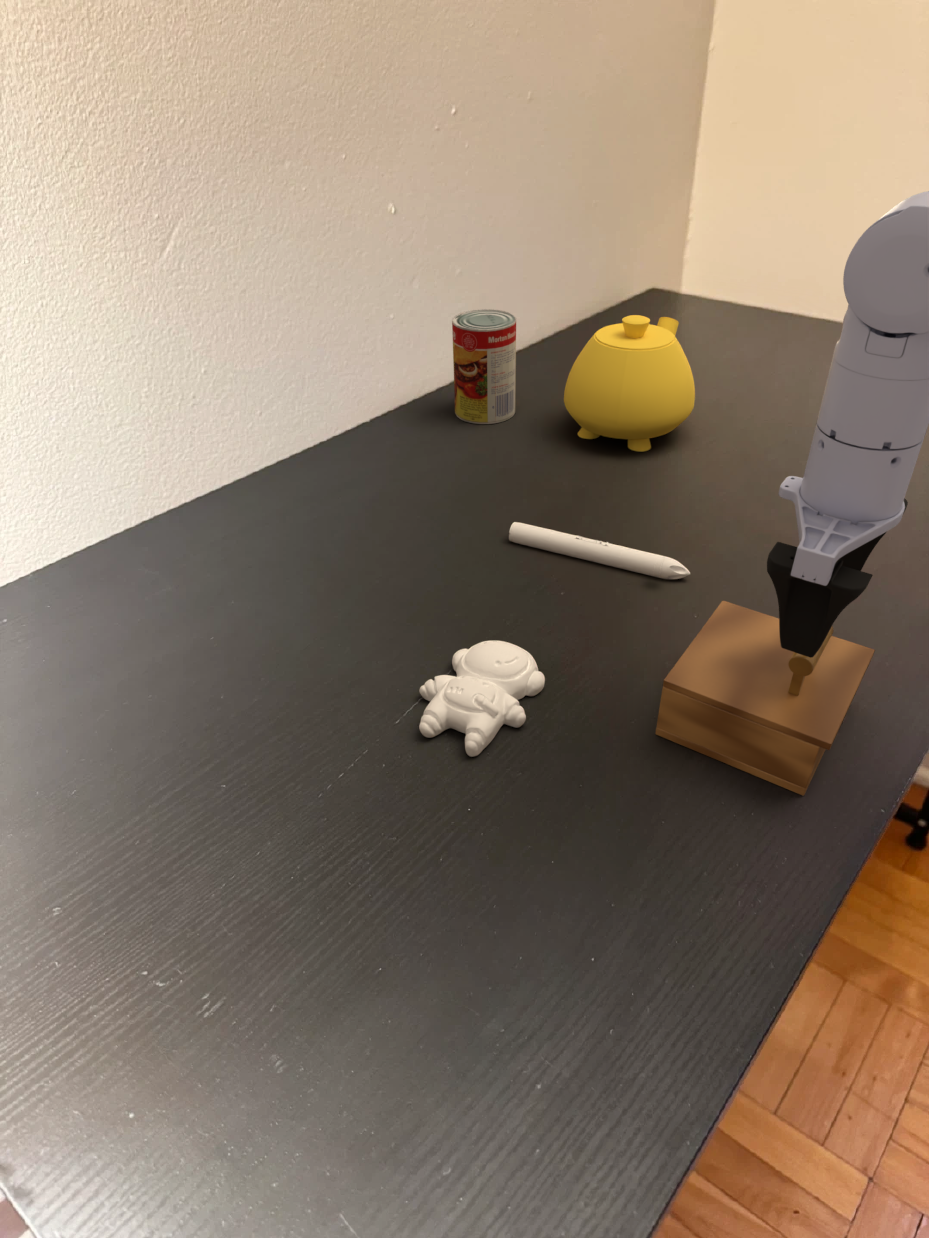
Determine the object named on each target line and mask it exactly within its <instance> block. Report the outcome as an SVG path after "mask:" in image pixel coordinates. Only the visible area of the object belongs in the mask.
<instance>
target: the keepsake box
mask: <svg viewBox="0 0 929 1238" xmlns="http://www.w3.org/2000/svg"><path fill="white" fill-rule="evenodd" d="M661 689H662V690H661V696H660V700H659V701H660V702H659V709H658V715H657V721H656V727H655V733H654V734H655V735H656V736H658V737H661V738H663V739H666V740H668V741H671V742H673V743H675V744H678V745H681V746H683V747H685V748H687V749H689V750H692V751H695V752H697V753H699V754H701V755H704V756H705V757H706V756H707V757H709V758H711V759H714V760H716V761H719V762H721V763H724V764H725V765H728V766H731V767H733V768H736V769H738V770H740V771H742V772H745V773H748V774H750V775H751V776H755V777H757V778H759V779H762V780H764V781H766V782H769V783H771V784H774V785H776V786H778V787H781V788H783V789H785V790H788V791H791V792H792V793H795V794H798V795H800V796H802V797H804V796H805V795H806V793H807V790H808V788H809V786H810V784H811V782H812V780H813V777H814V775H815V773H816V771H817V769H818V767H819V764H820V762H821V760H822V759H823V756H824V755H825V752H826V750H827V749H824V748H821V747H819V746H816V745H814V744H811V743H808V742H806V741H803V740H801V739H798V738H796V737H793V736H790V735H788V734H785V733H783V732H780V731H777V730H775V729H772V728H770V727H767V726H764V725H762V724H759V723H757V722H754V721H752V720H749V719H746V718H744V717H741V716H739V715H736V714H733V713H731V712H728V711H726V710H723V709H720V708H718V707H715V706H713V705H710V704H708V703H705V702H702V701H700V700H697V699H695V698H692V697H689V696H687V695H684V694H682V693H679V692H676V691H674V690H671V689H669V688H666V687H663V686H662V688H661Z"/></svg>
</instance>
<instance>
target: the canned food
mask: <svg viewBox="0 0 929 1238" xmlns="http://www.w3.org/2000/svg"><path fill="white" fill-rule="evenodd" d="M451 325H452V326H451V328H452V329H451V330H452V331H451V332H452V355H453V356H452V358H453V360H452V361H453V363H452V364H453V389H454V390H453V392H454V394H453V395H454V414H455V416H456V417H457V418H458V419H460V420H461V421H464V422H465V423H470V424H475V425H493V424H499V423H502V422H505V421H508V420H510V419H511V418H513V417H514V416H515V413H516V380H517V379H516V378H517V377H516V375H517V374H516V373H517V372H516V371H517V369H516V368H517V367H516V366H517V317H516V315H514V314H513V313H511V312H508V311H505V310H501V309H494V308H493V309H492V308H479V309H471V310H466V311H463V312H460V313H457V314H455V315H454V316H453V317H452V319H451Z"/></svg>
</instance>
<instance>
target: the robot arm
mask: <svg viewBox="0 0 929 1238" xmlns="http://www.w3.org/2000/svg"><path fill="white" fill-rule="evenodd" d="M842 284H843V292H844V296H845V299H846V302H847V307H846V311H844V312H845V313H844V315H843V318H842V319H843V320H842V328H841V333H840V337H839V339H838V340H837V342H836V343H835V345H834V349H833V353H832V357H831V362H830V365H829V370H828V374H827V378H826V382H825V386H824V391H823V394H822V398H821V403H820V407H819V411H818V414H817V419H816V423H815V427H814V432H813V435H812V440H811V444H810V448H809V451H808V457H807V460H806V464H805V468H804V473H803V477H800V476H795V475H789V476H787V477H785V478H784V479H783V481H782V482H781V484H780V485H779V489H778V496H779V497H780V498H781V499H783V500H786V501H787V500H788V501H790V502H792V503H793V504H794V510H795V517H796V523H797V524H796V525H797V526H796V527H797V533H798V540H799V543H798V545H797V546H795V545H791V544H788V543H784V542H782V541H781V542H780V541H776V543H775V544H774V545H773V546H772V548H771V550H770V551H769V553H768V556H767V559H766V571H767V574H768V576H769V577H770V580H771V582H772V585H773V587H774V590H775V595H776V597H777V603H778V618H779V632H780V643H781V647H782V648H783V649H786V650H789V651H792V652H795V653H798V654H801V655H804V656H807V657H810V658H811V657H813V656H814V655H815V654H816V653H817V651H818V650H819V649H820V647H821V645H822V644H823V642H824V640H825V638H826V636H827V634H828V633H829V631H830V629H831V627H832V626H833V625H834V623H835V621H836V620H837V619H838V617H839V616H840V615H841V613H842V612H843V611H844V609H846V608H847V606H849V605H850V604H851V603H852V602H854V601H856V600H857V599H858V598H859V597H860V596H861V595H862V594H863V592H865V590H866V589H867V587H868V585H869V584H870V582H871V579H872V578H873V576H874V575H873V574H872V573H869V572H865V571H862V570H863V568H864V567H865V564H866V562H867V560H868V558H869V557H870V555H871V554H872V552H873V551H874V548H876V546H877V545H878V543H880V540H881V539H882V538H883V537H884V536H885V535H886V534H887V532H889V531H891V530H892V529H894V528H896V527H897V526H898V525H899V524H900V523H901V521H902V519H903V516H904V514H905V513H906V510H907V508H908V503H909V502H908V500H907V499H906V494H907V491H908V488H909V486H910V482H911V480H912V477H913V473H914V470H915V467H916V464H917V462H918V458H919V455H920V452H921V449H922V446H923V443H924V440H925V437H926V434H927V430H928V427H929V190H927V191H922V192H919V193H916V194H913V195H911V196H909V197H906V198H905V199H903V200H902V201H900V202H899V203H897V204H896V205H894V206H893V207H892V208H891V209H890V210H888V211H887V212H886V213H885V214H883V215H882V216H881V217H879V219H877V220H876V221H875V222H874V223H872V224H871V225H870V226H869V227H868V228H867V229H866V230H865V231H864V232H863V233H862V234H861V235H860V237H859V238H858V239H857V240H856V242H855V244H854V246H853V247H852V249H851V250H850V253H849V255H848V256H847V260H846V262H845V266H844V270H843V278H842Z"/></svg>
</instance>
